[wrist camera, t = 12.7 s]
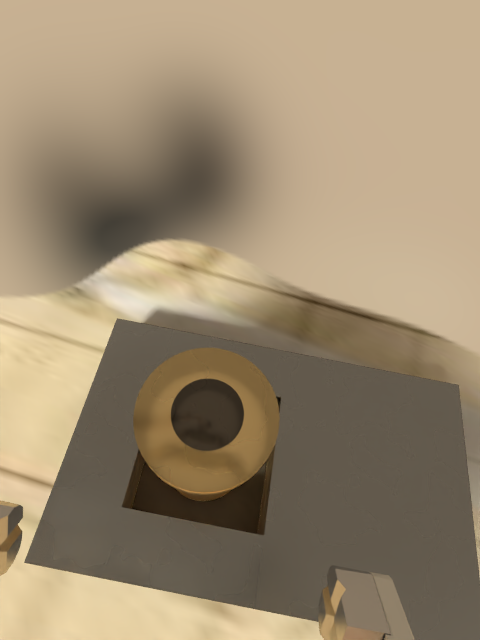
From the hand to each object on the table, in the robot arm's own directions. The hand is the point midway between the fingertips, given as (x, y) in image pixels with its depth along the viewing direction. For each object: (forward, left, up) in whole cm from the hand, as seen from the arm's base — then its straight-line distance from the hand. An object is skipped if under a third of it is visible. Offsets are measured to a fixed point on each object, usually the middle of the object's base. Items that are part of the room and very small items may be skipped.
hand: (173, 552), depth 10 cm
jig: (+3, +4, -9) cm, 10 cm away
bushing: (0, +4, -9) cm, 10 cm away
